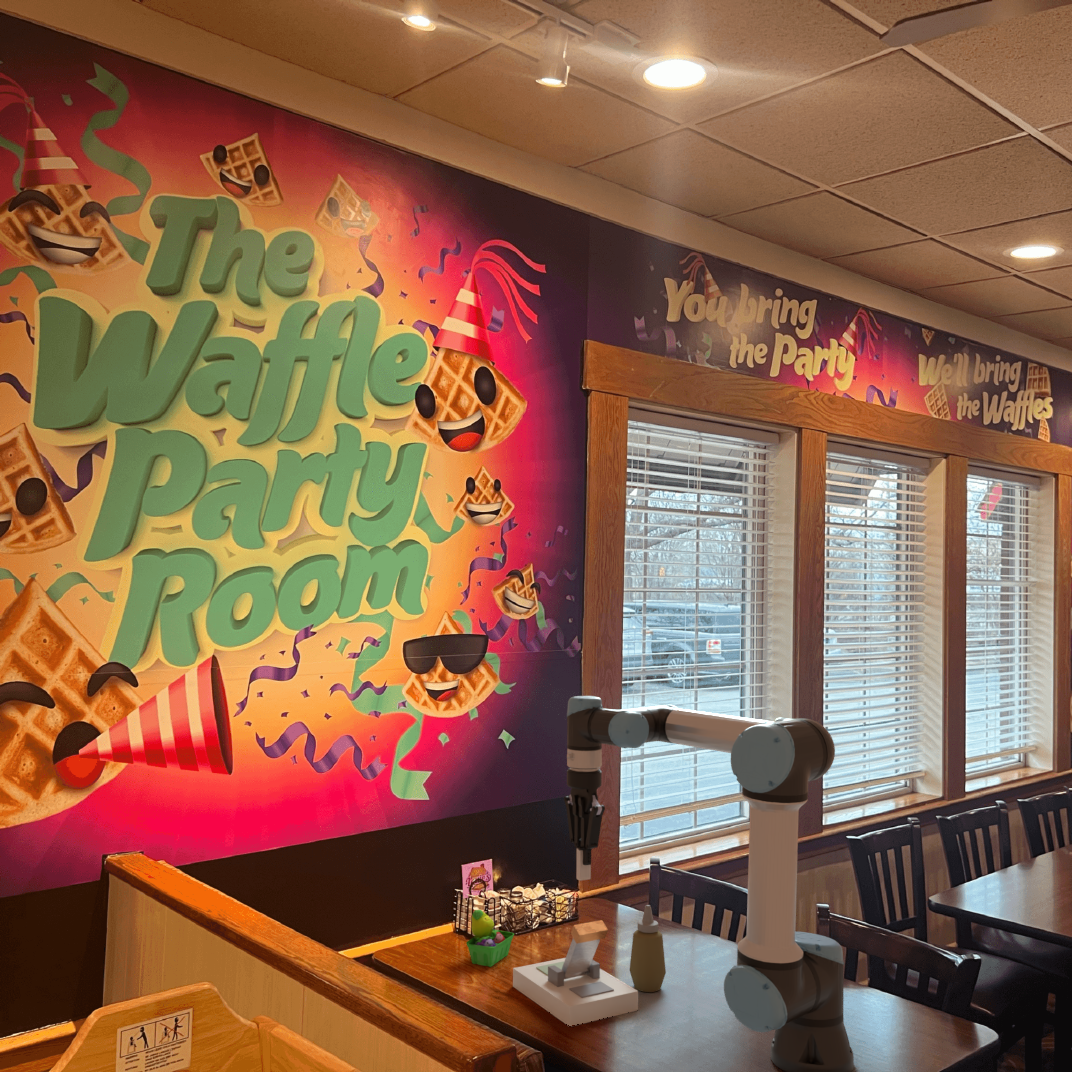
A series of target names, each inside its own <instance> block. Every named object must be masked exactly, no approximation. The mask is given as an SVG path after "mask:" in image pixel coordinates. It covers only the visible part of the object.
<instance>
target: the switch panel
mask: <svg viewBox="0 0 1072 1072" xmlns="http://www.w3.org/2000/svg"><path fill="white" fill-rule="evenodd" d="M565 958H566V957H563V958H562V957H561V958H557V959H552V960H548V961H547V960H546V961H543V962H537V963H533V964H527V965H523V966H517V967H513V969H512V987H513V988H515V989H516V990H517V991H518V992H520V993H521V994H523V995H524V996H526V997H527V998H528V999H529V1000H531V1001H533V1002H534V1003H535V1004H537V1005H538V1006H540V1007H541V1008H543V1009H544V1010H546V1012H548V1013H549V1012H550V1014H551V1015H552V1016H553V1017H555V1018H556V1019H558V1021H561V1022H562V1023H564V1024H565V1025H566V1024H567V1026H568V1025H569V1026H571V1027H573V1026H572V1025H575V1026H578V1025H577V1024H579V1025H582V1023H583V1024H588V1023H591V1021H592V1022H596V1021H599V1019H600V1020H604V1019H608V1018H612V1016H613V1017H617V1016H621V1015H624V1014H629V1013H632V1012H637V1010H638V1011H639V990H637V989H636V988H635V987H633V986H630V985H629V984H627V983H625V982H624V981H622V980H621V979H618V978H617V977H616V976H613V975H611V974H610V973H608V972H607V971H605V970H604V969H602V968H601V964H600V963H599V962H598V961H595V960H594V959H592V962H591V964H590V967H589V969H590V972H589V974H587V975H583V976H578V977H573V978H569V979H564V971H563V970H561V969H562V967H563V964H564V961H565ZM628 1012H629V1013H628ZM607 1017H608V1018H607ZM603 1018H604V1019H603ZM569 1026H568V1027H569Z"/></svg>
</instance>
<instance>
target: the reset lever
mask: <svg viewBox="0 0 1072 1072" xmlns="http://www.w3.org/2000/svg"><path fill="white" fill-rule="evenodd" d="M608 931H609V929H608V927H607V926H606V924H605V923H604V921H603V919H599V920H595V921H590V922H583V923H578V924H574V925H572V929H571V931H570V935H571V936H572V941H571V942H570V945H569V948H568V951H567V954H566V956H565V957H564V958H565V961H564V964H563V967H562V969H561V970H563V971H564V979H569V978H573V977H578V976H583V975H587V974H589V972H590V969H589V967H590V964H591V962H592V960H594V959H593V958H594V957H595V954H596V951H597V949H598V946H599V943H600V941H601V940H602V939H606V936H607V934H608Z"/></svg>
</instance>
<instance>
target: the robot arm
mask: <svg viewBox="0 0 1072 1072" xmlns="http://www.w3.org/2000/svg"><path fill="white" fill-rule="evenodd" d="M566 721H567V723H566V724H567V725H566V729H567V730H566V731H567V732H566V736H567V737H566V738H567V739H566V740H567V741H566V747H567V750H566V751H567V752H566V753H567V754H566V760H567V761H566V763H567V764H566V766H567V767H568V769H567V770H566V786H567V787H569V788H570V789H571V790H570V794H569V795H567V796H566V795H565V796H564V797H563V802H564V803H565V807H566V816H567V825H568V832H569V833H568V834H569V841H570V843H572V844H574V848H576V849H575V851H576V852H575V853H576V854H575V859H576V880H578V881H580V882H582V881H586V880H591V878H592V876H591V875H592V872H591V871H592V868H591V867H592V850H593V849H597V848H598V846H599V842H600V841H599V840H600V836H601V835H600V834H601V827H602V820H603V815H604V812H605V811H606V810H605V809H606V807H605V805H604V804H600V802H599V801H598V800H599V795H598V789H599V788H601V786H602V779H603V778H602V774H603V773H602V770H601V768H602V767H603V760H602V759H603V758H602V757H603V754H602V752H603V751H602V750H603V749H602V745H608V746H613V747H619V748H621V749H628V748H629V749H639V748H640V747H641V746H642V745H643V744H645V743H646V744H647V743H653V742H661V743H662V742H663V743H668V744H676V745H681V746H687V747H693V748H699V749H703V750H711V751H716V752H722V753H728V754H730V766H731V771H732V774H733V775H734V776H735V777H736V781H737V783H738V784H739V785H740V786H742V787H741V788H742V789H741V795H742V797H743V798H744V799H745V801H746V802H747V803H748V804H749V828H748V829H749V831H748V834H749V835H748V840H749V841H748V867H747V868H748V869H747V872H748V873H747V874H748V875H747V902H746V903H747V905H746V908H747V910H746V935H745V937H743V938H742V939H741V940H740V941H738V943H737V951H736V964H735V965H734V966H733V967H732V968H730V969H729V971H727V973H726V974H725V978H724V981H723V992H724V998H725V1000H726V1004H727V1005H728V1007H729V1010H730V1011H731V1012H732V1013H733V1014H734V1017H735V1018H736V1019H737V1021H738V1022H740V1024H741V1025H742V1026H744V1027H746V1028H747V1029H749V1030H751V1031H753V1032H756V1033H769V1032H771V1031H773V1030H774V1034H773V1038H772V1039H771V1041H770V1042H771V1043H770V1059H771V1061H772V1063H773V1065H775V1066H776V1067H777V1068H778V1069H779V1070H782V1071H783V1072H853V1070H854V1066H855V1065H854V1063H855V1062H854V1051H853V1049H852V1046H851V1045H850V1039H849V1035H848V1032H847V1029H846V1026H845V1022H844V1018H845V1017H844V966H845V961H844V953H843V951H844V950H843V947H842V946H841V944H840V943H839V942H838V941H837V940H835V939H833V938H831V937H828V936H825V935H821V934H818V933H814V932H813V933H811V932H805V931H796V924H797V923H796V919H797V916H796V913H797V881H798V878H797V877H798V847H799V846H798V845H799V842H798V841H799V811H800V809H801V807H802V806H804V805H805V804H806V803H807V802H808V800H809V799H808V798H809V797H808V796H809V795H808V794H809V782H812V781H816V780H818V779H820V778H822V777H823V776H824V775H826V774H827V773H828V772H829V770H830V769H831V767H832V765H833V763H834V760H835V756H836V755H835V754H836V747H835V743H834V740H833V737H832V734H830V732H829V730H828V729H827V728H825V726H823V724H821V723H819V722H818V721H816V720H813V719H809V718H788V717H777V718H776V719H774V720H772V721H771V720H763V719H759V718H758V719H757V718H749V717H742V716H736V715H729V714H728V715H727V714H720V713H714V712H713V713H712V712H706V711H698V710H692V709H684V708H680V707H678V706H677V705H673V704H659V705H658V704H657V705H653V706H645V707H632V708H622V709H614V708H605V707H603V701H602V698H601V697H599V696H594V695H577V696H576V695H575V696H572V697H570V698H569V699H568V701H567V709H566Z"/></svg>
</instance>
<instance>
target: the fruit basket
mask: <svg viewBox="0 0 1072 1072" xmlns="http://www.w3.org/2000/svg"><path fill="white" fill-rule="evenodd" d="M494 927H495V923H494V920H493V919H492V918H491V917H490V916H489V915H488V914H487V913H485V912H484V911H483V910H482V909H475V910H474V911H473V913H472V915H471V927H470V928H471V932H472V934H473V936H472V938H470V939H469V940H467V941H466V942H465V943H466V946H467V948H468V952H469V956H470V959H471V960H470V961H471V963H472V964H473V965H479V966H483V967H488V968H491V967H493V966H495V964H498V962H499V961H502V960H503V959H504V958H506V957H507V956H509V952H510V948H511V944H512V941H513V938H514V935H515V933H513V932H510V931H504V930H499V929H495V928H494Z"/></svg>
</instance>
